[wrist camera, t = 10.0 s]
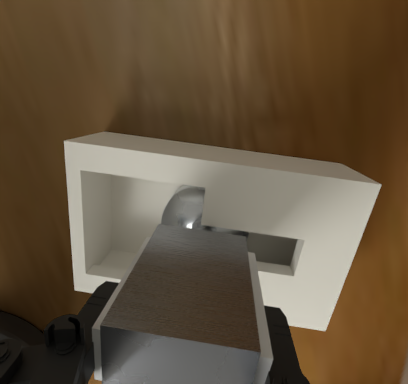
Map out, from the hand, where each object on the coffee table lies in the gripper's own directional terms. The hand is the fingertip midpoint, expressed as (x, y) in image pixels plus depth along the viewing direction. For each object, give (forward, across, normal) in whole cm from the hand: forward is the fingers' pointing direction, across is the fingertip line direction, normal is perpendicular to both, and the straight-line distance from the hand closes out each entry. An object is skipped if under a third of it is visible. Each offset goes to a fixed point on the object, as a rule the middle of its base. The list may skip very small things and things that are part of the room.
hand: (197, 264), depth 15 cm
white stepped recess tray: (+8, 0, 0) cm, 8 cm away
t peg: (+7, 0, 0) cm, 7 cm away
